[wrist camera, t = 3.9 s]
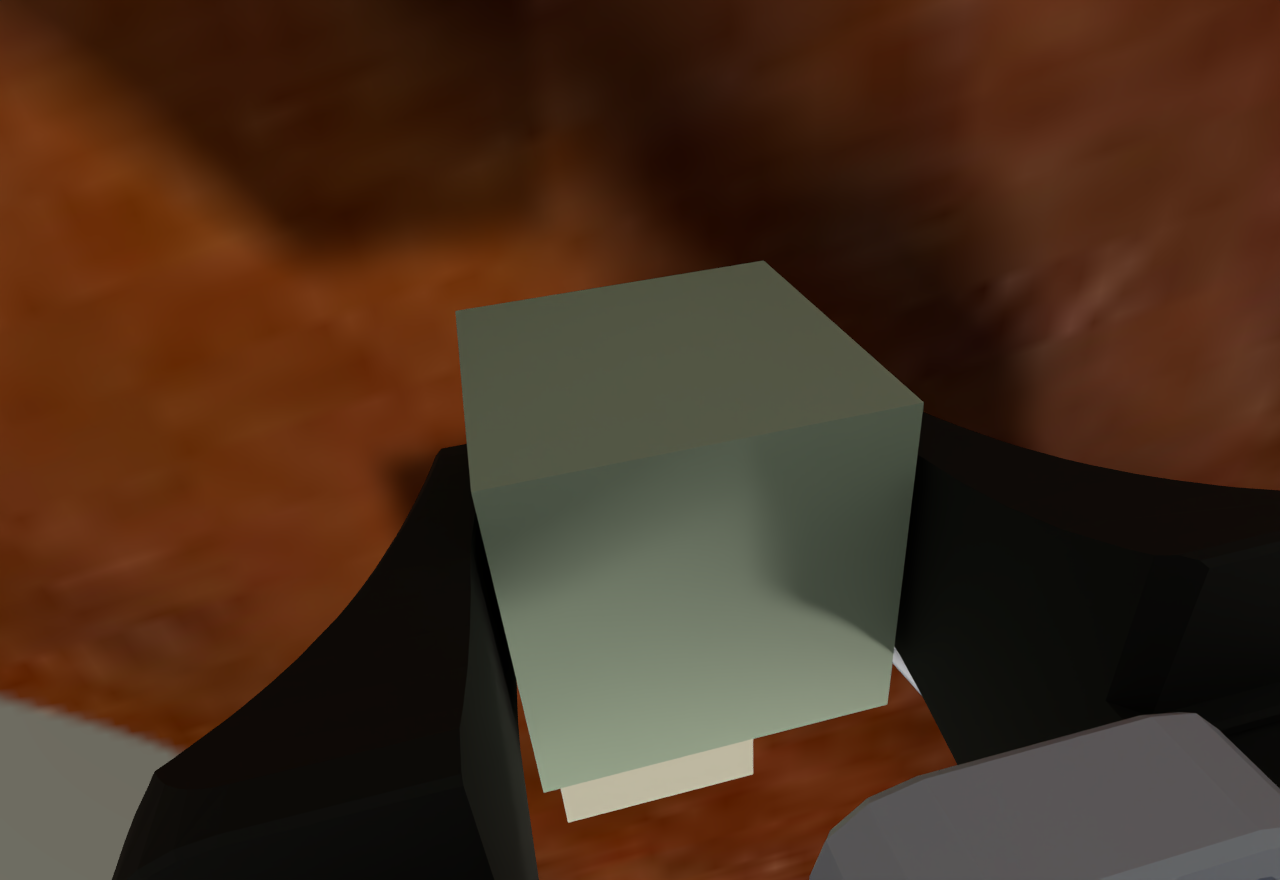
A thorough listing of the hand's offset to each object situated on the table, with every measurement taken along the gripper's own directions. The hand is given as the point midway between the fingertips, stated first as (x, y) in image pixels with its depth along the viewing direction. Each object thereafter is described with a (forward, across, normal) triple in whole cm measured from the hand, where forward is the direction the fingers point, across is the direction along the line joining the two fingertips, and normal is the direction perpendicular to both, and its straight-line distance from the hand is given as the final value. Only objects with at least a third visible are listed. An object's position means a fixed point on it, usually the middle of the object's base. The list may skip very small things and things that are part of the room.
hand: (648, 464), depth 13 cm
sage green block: (+2, 0, 0) cm, 2 cm away
